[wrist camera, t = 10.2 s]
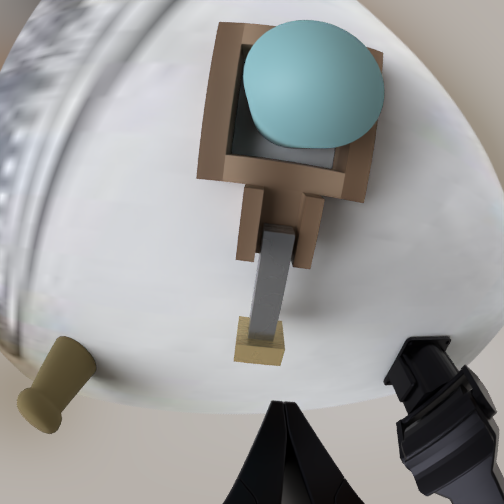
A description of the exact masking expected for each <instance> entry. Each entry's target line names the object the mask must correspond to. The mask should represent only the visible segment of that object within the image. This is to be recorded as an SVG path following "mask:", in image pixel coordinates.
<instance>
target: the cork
mask: <svg viewBox="0 0 504 504" xmlns="http://www.w3.org/2000/svg"><path fill="white" fill-rule="evenodd" d="M95 371H96V364H95V361H94V359H93V358H92V356H91V355H90V353H89V352H88V351H87V350H86V349H85V348H84V347H83V346H82V345H81V344H79V343H78V342H77V341H75V340H73V339H71V338H69V337H65V336H62V337H59V338H57V339H56V341H55V343H54V345H53V346H52V348H51V350H50V352H49V353H48V355H47V357H46V359H45V361H44V363H43V364H42V366H41V368H40V370H39V372H38V374H37V376H36V378H35V380H34V382H33V384H32V386H31V388H26V389H24V390H23V391H22V392H21V393H20V394H19V395H18V399H17V407H18V409H19V412H20V413H21V415H22V416H23V417H24V418H25V419H26V420H27V421H28V422H29V423H30V424H31V425H32V426H34V427H35V428H37V429H38V430H40V431H42V432H44V433H47V434H52V433H55V432H56V431H57V430H58V428H59V426H60V425H61V421H62V416H61V412H62V411H63V410H64V409H65V407H66V406H67V405H68V404H69V403H70V401H71V400H72V399H73V398H74V397H75V395H76V394H77V393H78V392H79V391H80V389H81V388H82V387H83V386H84V385H85V383H86V382H87V381H88V380H89V379H90V377H91V376H92V375H93V374H94V373H95Z"/></svg>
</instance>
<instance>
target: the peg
mask: <svg viewBox="0 0 504 504" xmlns="http://www.w3.org/2000/svg"><path fill="white" fill-rule="evenodd" d="M243 79H244V88H245V92H246V96H247V100H248V104H249V107H250V111H251V115H252V119H253V122H254V125H255V126H256V128H257V130H258V131H259V133H260V134H261V135H262V136H263V137H264V138H265V139H267V140H268V141H270V142H271V143H273V144H275V145H278V146H282V147H288V148H334V147H339V146H343V145H346V144H349V143H351V142H353V141H355V140H357V139H359V138H360V137H362V136H363V135H364V134H365V133H367V132H368V131H369V130H370V129H371V127H372V126H373V125H374V123H375V122H376V121H377V119H378V117H379V115H380V113H381V109H382V106H383V101H384V82H383V78H382V74H381V71H380V68H379V66H378V64H377V62H376V60H375V58H374V57H373V55H372V54H371V53H370V51H369V50H368V49H367V48H366V47H365V45H364V44H363V43H362V42H360V41H359V40H358V39H357V38H356V37H354V36H353V35H352V34H350V33H349V32H347V31H345V30H343V29H341V28H339V27H337V26H334V25H332V24H328V23H325V22H320V21H313V20H298V21H292V22H287V23H284V24H281V25H278V26H276V27H274V28H272V29H270V30H269V31H267V32H266V33H264V34H263V35H262V36H261V37H260V38H259V39H258V40H257V41H256V42H255V44H254V45H253V46H252V48H251V50H250V51H249V53H248V56H247V58H246V61H245V66H244V74H243Z"/></svg>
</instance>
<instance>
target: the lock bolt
mask: <svg viewBox="0 0 504 504" xmlns="http://www.w3.org/2000/svg"><path fill="white" fill-rule="evenodd" d="M294 240H295V233H294V230H293V228H292V226H286V225H278V224H271V223H264V226H263V233H262V240H261V246H260V253H259V260H258V267H257V273H256V280H255V286H254V293H253V300H252V306H251V313H250V318H249V317H241V316H239V321H238V329H237V337H236V346H235V355H234V361H236V362H244V363H253V364H264V365H275V366H280V365H281V362H282V358H283V354H284V351H285V345H284V336H283V326H282V321H278V318H279V313H280V309H281V304H282V299H283V295H284V290H285V285H286V280H287V275H288V270H289V265H290V260H291V255H292V250H293V245H294Z"/></svg>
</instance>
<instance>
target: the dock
mask: <svg viewBox="0 0 504 504" xmlns="http://www.w3.org/2000/svg"><path fill="white" fill-rule="evenodd" d="M274 27H276V26H269V25H260V24H249V23H232V22H219V25H218V30H217V35H216V40H215V45H214V51H213V56H212V62H211V68H210V74H209V80H208V87H207V93H206V100H205V107H204V115H203V122H202V130H201V139H200V148H199V157H198V167H197V178H196V179H206V180H216V181H225V182H234V183H242V184H245V187H244V194H243V202H242V210H241V218H240V227H239V235H238V244H237V252H236V260H241V261H249V262H254V257H255V253H260V246H261V240H262V233H263V226H264V223H271V224H278V225H286V226H292V228H293V230H294V233H295V240H294V245H293V250H292V255H291V261H292V265H293V267H297V268H305V269H310V268H311V264H312V259H313V255H314V250H315V246H316V241H317V236H318V232H319V227H320V222H321V217H322V212H323V207H324V201H325V199H324V198H322V197H321V196H320V195H323V196H328V197H334V198H339V199H345V200H350V201H355V202H360V203H364V199H365V194H366V189H367V184H368V179H369V173H370V168H371V162H372V156H373V150H374V143H375V136H376V129H377V121H378V119H377V121H376V122H375V123H374V125H373V126H372V127H371V129H370V130H369V131H368V132H367V133H365V134H364V135H363V136H362V137H360V138H359V139H357V140H355V141H353V142H351V143H349V144H346V145H343V146H339V147H336V148H335V155H334V161H333V167H332V169H329V168H324V167H319V166H313V165H308V164H302V163H296V162H290V161H284V160H277V159H270V158H263V157H255V156H247V155H239V154H231V150H232V142H233V134H234V127H235V119H236V112H237V105H238V98H239V91H240V84H241V77H242V70H243V64H244V59H246V58H247V56H248V53H249V51H250V50H251V48H252V46H253V45H254V44H255V42H256V41H257V40H258V39H259V38H260V37H261V36H262V35H263V34H264V33H266V32H267V31H269V30H270V29H272V28H274ZM366 48H367V49H368V50H369V51H370V53H371V54H372V55H373V57H374V58H375V60H376V62H377V64H378V66H379V68H380V71H381V74H382V67H383V53H382V52H380V51H377V50H374V49H371V48H368V47H366Z"/></svg>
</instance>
